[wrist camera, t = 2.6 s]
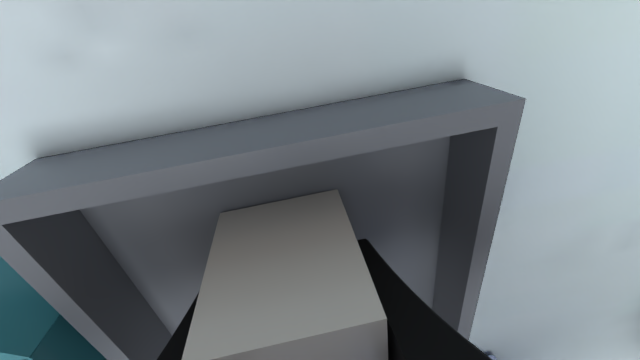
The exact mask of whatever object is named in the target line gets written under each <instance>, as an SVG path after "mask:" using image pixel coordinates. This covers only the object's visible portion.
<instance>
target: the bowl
mask: <svg viewBox="0 0 640 360" xmlns="http://www.w3.org/2000/svg"><path fill="white" fill-rule="evenodd" d="M0 360H107V359H106V358H105V357H104V356H103V355H102V354H101V353H100V352H99V351H98V350H97V349H96V348H95V347H94V346H92V345H91V344H90V343H89V342H88V341H87V340H86V339H85V338H84V337H83V336H82V335H81V334H80V333H79V332H78V331H77V330H76V329H75V328H74V327H73V326H72V325H71V324H70V323H69V322H68V321H67V320H66V319H65V318H64V317H63V316H62V315H61V314H59V313H58V312H57V311H56V310H55V309H54V308H53V307H52V306H51V305H50V304H49V303H48V302H47V301H46V300H45V299H44V298H43V297H42V296H41V295H40V294H39V293H38V292H37V291H36V290H35V289H34V288H33V287H32V286H31V285H30V284H29V283H28V282H27V281H25V280H24V279H23V278H22V277H21V276H20V275H19V274H18V273H17V272H16V271H15V270H14V269H13V268H12V267H11V266H10V265H9V264H8V263H7V262H6V261H5V260H4V259H3V258H2V257H1V256H0Z"/></svg>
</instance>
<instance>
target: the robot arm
mask: <svg viewBox="0 0 640 360" xmlns="http://www.w3.org/2000/svg"><path fill="white" fill-rule="evenodd" d="M357 242H358V244H359V247H360V250H361V252H362V255H363V257H364V260H365V263H366V265H367V268H368V270H369V273H370V276H371V278H372V281H373V283H374V286H375V289H376V291H377V294H378V296H379V299H380V302H381V304H382V307H383V310H384V312H385V315H386V317H387V335H388V360H497V359H496V357H495V356H493V355H489V356H487V355H486V354H484V353H483V352H482V351H481V350H479V349H478V348H477V347H476V346H474V345H473V344H472V343H471V342H469V341H468V340H467V339H466V338H464V337H463V336H462V335H461V334H460V333H458V332H457V331H456V330H455V329H454V328H452V327H451V326H450V325H449V324H448V323H447V322H445V321H444V320H443V319H442V318H441V317H440V316H439V315H438V314H436V313H435V312H434V311H433V310H432V309H431V308H430V307H429V306H428V305H427V304H426V303H425V302H424V301H422V300H421V299H420V298H419V297H418V296H417V295H416V294H415V293H414V292H413V291H412V290H411V289H410V288H409V287H408V286H407V285H406V284H405V283H404V281H403V280H402V279H401V278H400V277H399V276H398V275H397V274H396V273H395V272H394V271H393V270H392V269H391V268H390V266H389V265H388V264H387V263H386V262H385V261H384V259H383V258H382V257H381V256H380V255H379V253H378V252H377V251H376V250H375V248H374V247H373V246H372V244H371V243H370V242H369V240H367V239H360V240H357ZM198 295H199V293H198V294H197V296H196V298H195V299H194V301H193V303H192V304H191V306H190V308H189V309H188V311H187V313H186V314H185V316H184V318H183V319H182V321H181V323H180V324H179V326H178V327H177V329H176V331H175V332H174V334H173V335H172V337H171V339H170V340H169V342H168V343H167V345H166V346H165V348H164V349H163V351H162V352H161V354H160V355H159V357H158V358H157V360H182V356H183V352H184V348H185V345H186V341H187V337H188V333H189V329H190V325H191V322H192V318H193V314H194V310H195V306H196V303H197V299H198Z"/></svg>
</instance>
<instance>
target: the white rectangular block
mask: <svg viewBox="0 0 640 360" xmlns="http://www.w3.org/2000/svg"><path fill="white" fill-rule="evenodd" d="M182 360H388V335H387V317H386V315H385V312H384V310H383V307H382V304H381V302H380V299H379V296H378V294H377V291H376V289H375V286H374V283H373V281H372V278H371V276H370V273H369V270H368V268H367V265H366V263H365V260H364V257H363V255H362V252H361V250H360V247H359V244H358V242H357V239H356V236H355V234H354V231H353V229H352V226H351V223H350V221H349V218H348V216H347V213H346V210H345V208H344V205H343V203H342V200H341V197H340V195H339V192H338V190H337V189H336V190H331V191H326V192H321V193H316V194H311V195H306V196H301V197H296V198H292V199H287V200H282V201H277V202H272V203H267V204H262V205H257V206H252V207H247V208H242V209H238V210H233V211H228V212H223V213H220V215H219V219H218V222H217V226H216V230H215V234H214V238H213V242H212V245H211V249H210V253H209V257H208V261H207V264H206V268H205V272H204V276H203V280H202V284H201V287H200V291H199V295H198V299H197V303H196V306H195V310H194V314H193V318H192V322H191V325H190V329H189V333H188V337H187V341H186V345H185V348H184V352H183V356H182Z"/></svg>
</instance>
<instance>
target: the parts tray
mask: <svg viewBox="0 0 640 360" xmlns="http://www.w3.org/2000/svg"><path fill="white" fill-rule="evenodd" d="M525 100H526V99H525V98H522V97H519V96H516V95H513V94H510V93H507V92H504V91H501V90H497V89H494V88H491V87H488V86H485V85H482V84H479V83H476V82H473V81H470V80H467V79H462V80H457V81H452V82H446V83H441V84H436V85H430V86H425V87H419V88H414V89H409V90H403V91H398V92H393V93H387V94H382V95H377V96H371V97H366V98H361V99H355V100H350V101H345V102H339V103H334V104H328V105H323V106H318V107H312V108H307V109H302V110H296V111H291V112H286V113H280V114H275V115H270V116H264V117H259V118H254V119H248V120H243V121H237V122H232V123H227V124H221V125H216V126H211V127H205V128H200V129H195V130H189V131H184V132H179V133H173V134H168V135H162V136H157V137H152V138H146V139H141V140H136V141H130V142H125V143H120V144H114V145H109V146H104V147H98V148H93V149H88V150H82V151H77V152H71V153H66V154H61V155H55V156H50V157H45V158H39V159H35V160H33V161H32V162H30V163H28V164H27V165H25V166H23V167H22V168H20V169H18V170H17V171H15V172H13V173H12V174H10V175H8V176H7V177H5V178H4V179H2V180H0V256H1V257H2V258H3V259H4V260H5V261H6V262H7V263H8V264H9V265H10V266H11V267H12V268H13V269H14V270H15V271H16V272H17V273H18V274H19V275H20V276H21V277H22V278H23V279H24V280H25V281H27V282H28V283H29V284H30V285H31V286H32V287H33V288H34V289H35V290H36V291H37V292H38V293H39V294H40V295H41V296H42V297H43V298H44V299H45V300H46V301H47V302H48V303H49V304H50V305H51V306H52V307H53V308H54V309H55V310H56V311H57V312H58V313H59V314H61V315H62V316H63V317H64V318H65V319H66V320H67V321H68V322H69V323H70V324H71V325H72V326H73V327H74V328H75V329H76V330H77V331H78V332H79V333H80V334H81V335H82V336H83V337H84V338H85V339H86V340H87V341H88V342H89V343H90V344H91V345H92V346H94V347H95V348H96V349H97V350H98V351H99V352H100V353H101V354H102V355H103V356H104V357H105V358H106V359H107V360H157V358H158V357H159V355H160V354H161V352H162V351H163V349H164V348H165V346H166V345H167V343H168V342H169V340H170V339H171V337H172V335H173V334H174V332H175V331H176V329H177V327H178V326H179V324H180V323H181V321H182V319H183V318H184V316H185V314H186V313H187V311H188V309H189V308H190V306H191V304H192V303H193V301H194V299H195V298H196V296H197V294H198V293H199V291H200V287H201V284H202V280H203V276H204V272H205V268H206V264H207V261H208V257H209V253H210V249H211V245H212V242H213V238H214V234H215V230H216V226H217V222H218V219H219V215H220V213H223V212H228V211H233V210H238V209H242V208H247V207H252V206H257V205H262V204H267V203H272V202H277V201H282V200H287V199H292V198H296V197H301V196H306V195H311V194H316V193H321V192H326V191H331V190H336V189H337V190H338V192H339V195H340V197H341V200H342V203H343V205H344V208H345V210H346V213H347V216H348V218H349V221H350V223H351V226H352V229H353V231H354V234H355V236H356V239H357V240H360V239H367V240H369V242H370V243H371V244H372V246H373V247H374V248H375V250H376V251H377V252H378V253H379V255H380V256H381V257H382V258H383V259H384V261H385V262H386V263H387V264H388V265H389V266H390V268H391V269H392V270H393V271H394V272H395V273H396V274H397V275H398V276H399V277H400V278H401V279H402V280H403V281H404V283H405V284H406V285H407V286H408V287H409V288H410V289H411V290H412V291H413V292H414V293H415V294H416V295H417V296H418V297H419V298H420V299H421V300H422V301H424V302H425V303H426V304H427V305H428V306H429V307H430V308H431V309H432V310H433V311H434V312H435V313H436V314H438V315H439V316H440V317H441V318H442V319H443V320H444V321H445V322H447V323H448V324H449V325H450V326H451V327H452V328H454V329H455V330H456V331H457V332H458V333H460V334H461V335H462V336H463V337H464V338H466V339H467V340H469V336H470V331H471V327H472V323H473V319H474V315H475V310H476V306H477V302H478V298H479V294H480V289H481V285H482V281H483V277H484V273H485V268H486V264H487V260H488V256H489V252H490V247H491V243H492V239H493V235H494V231H495V226H496V222H497V218H498V214H499V209H500V205H501V201H502V197H503V193H504V188H505V184H506V180H507V176H508V172H509V167H510V163H511V159H512V155H513V151H514V146H515V142H516V138H517V134H518V130H519V125H520V121H521V117H522V113H523V109H524V104H525Z"/></svg>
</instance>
